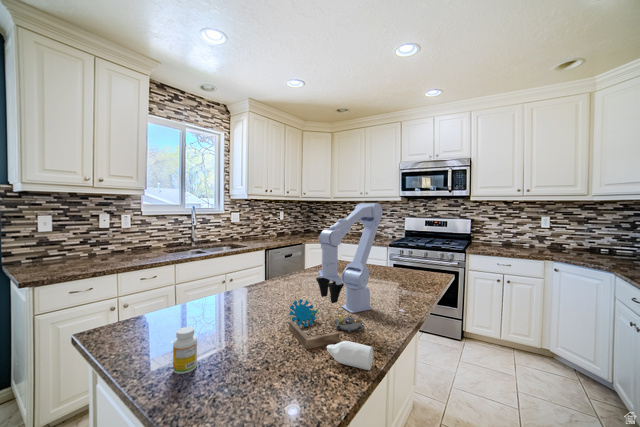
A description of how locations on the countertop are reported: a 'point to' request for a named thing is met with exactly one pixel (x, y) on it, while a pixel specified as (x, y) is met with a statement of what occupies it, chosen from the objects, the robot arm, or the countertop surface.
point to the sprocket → (348, 324)
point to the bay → (313, 341)
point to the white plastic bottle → (352, 354)
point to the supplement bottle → (185, 351)
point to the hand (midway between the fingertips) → (329, 299)
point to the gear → (303, 313)
